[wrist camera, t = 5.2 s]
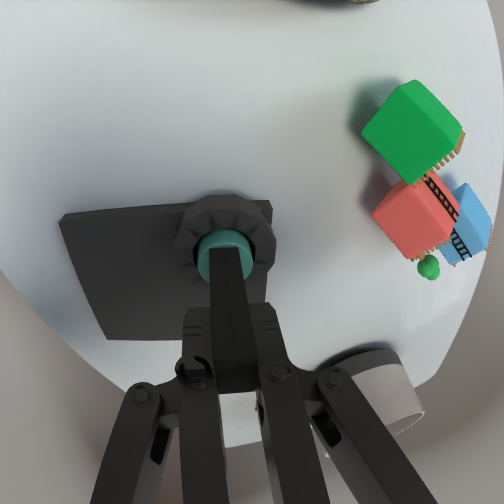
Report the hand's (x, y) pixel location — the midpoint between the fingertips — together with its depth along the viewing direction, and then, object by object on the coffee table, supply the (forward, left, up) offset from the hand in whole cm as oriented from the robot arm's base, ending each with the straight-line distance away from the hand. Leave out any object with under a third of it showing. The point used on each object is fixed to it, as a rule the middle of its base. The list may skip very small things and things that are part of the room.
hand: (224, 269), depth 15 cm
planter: (+16, -22, -5) cm, 28 cm away
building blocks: (+14, +5, -5) cm, 16 cm away
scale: (-4, -4, -4) cm, 7 cm away
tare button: (0, 0, -2) cm, 2 cm away
